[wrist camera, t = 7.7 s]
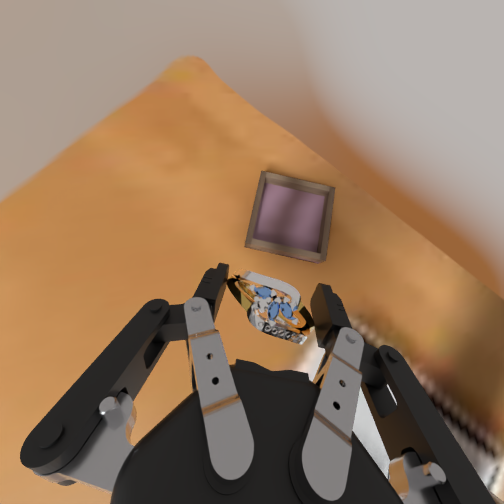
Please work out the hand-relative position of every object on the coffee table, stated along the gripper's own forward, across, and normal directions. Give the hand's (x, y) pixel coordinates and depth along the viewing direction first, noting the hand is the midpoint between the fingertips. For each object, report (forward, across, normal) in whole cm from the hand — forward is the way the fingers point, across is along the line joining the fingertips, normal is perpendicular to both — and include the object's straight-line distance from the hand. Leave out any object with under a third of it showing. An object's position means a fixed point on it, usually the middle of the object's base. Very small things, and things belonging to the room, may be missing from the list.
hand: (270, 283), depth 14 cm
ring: (+2, 0, +4) cm, 5 cm away
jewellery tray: (+17, -2, +1) cm, 17 cm away
